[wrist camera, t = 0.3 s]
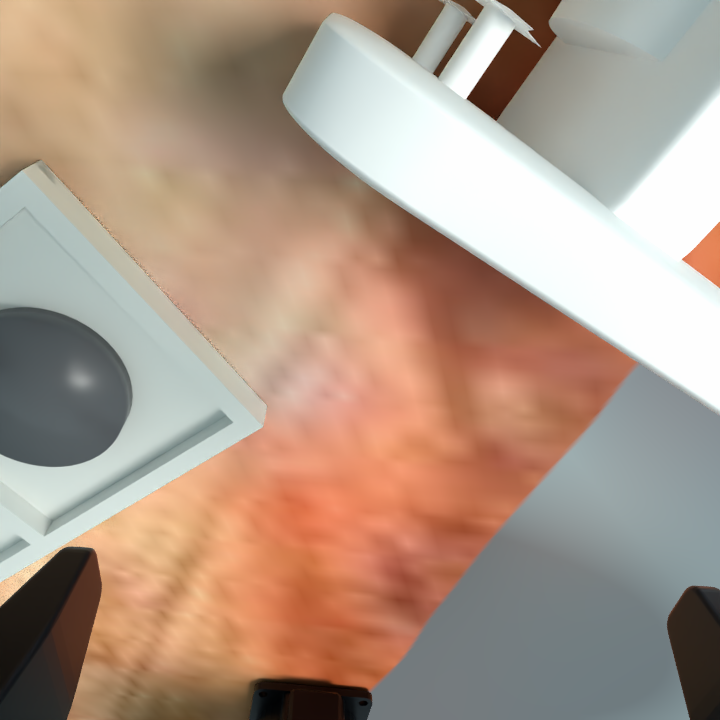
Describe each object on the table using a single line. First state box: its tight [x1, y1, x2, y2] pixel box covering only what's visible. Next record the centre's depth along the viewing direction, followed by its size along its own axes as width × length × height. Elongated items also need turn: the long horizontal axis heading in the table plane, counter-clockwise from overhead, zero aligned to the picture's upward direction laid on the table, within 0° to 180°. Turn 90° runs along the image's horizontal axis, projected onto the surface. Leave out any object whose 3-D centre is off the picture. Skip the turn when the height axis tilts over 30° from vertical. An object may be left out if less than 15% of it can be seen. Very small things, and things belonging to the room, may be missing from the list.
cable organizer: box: [283, 0, 720, 416], centre depth 13 cm, size 15×11×12 cm
